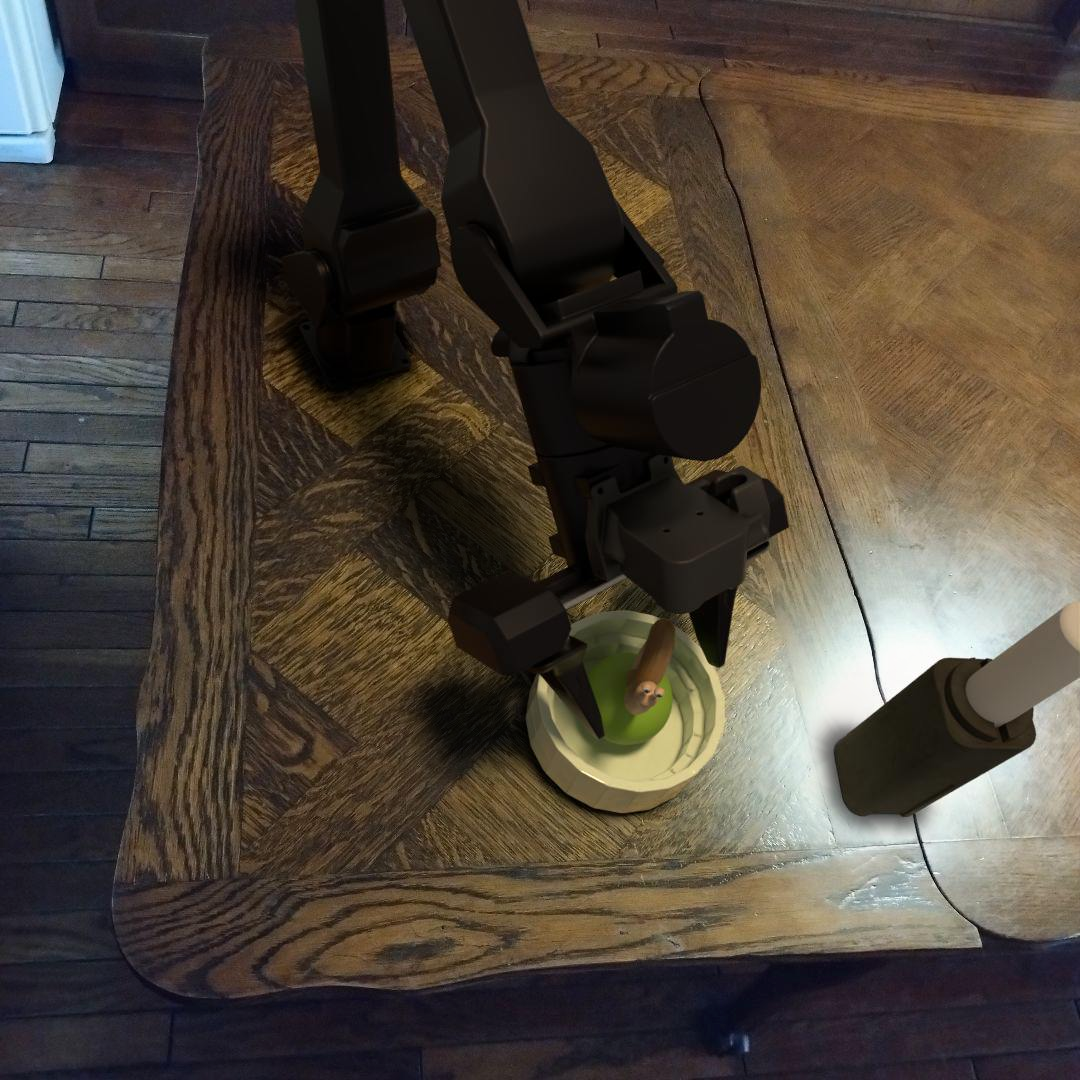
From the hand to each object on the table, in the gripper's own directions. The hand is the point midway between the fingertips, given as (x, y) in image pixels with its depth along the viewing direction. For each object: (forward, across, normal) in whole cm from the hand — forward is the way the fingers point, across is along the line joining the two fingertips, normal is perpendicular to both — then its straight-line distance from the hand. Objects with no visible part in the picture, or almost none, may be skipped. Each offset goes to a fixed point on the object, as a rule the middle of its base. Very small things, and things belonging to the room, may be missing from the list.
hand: (658, 699), depth 55 cm
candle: (+12, +13, -2) cm, 18 cm away
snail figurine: (+4, 0, +6) cm, 7 cm away
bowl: (+4, 0, +6) cm, 8 cm away
